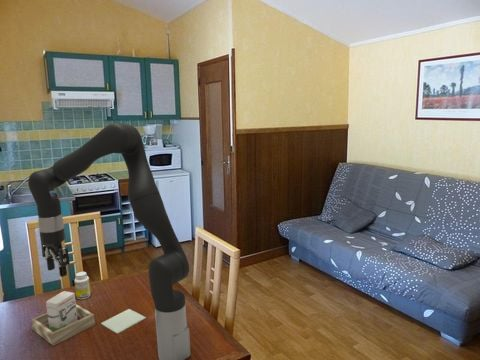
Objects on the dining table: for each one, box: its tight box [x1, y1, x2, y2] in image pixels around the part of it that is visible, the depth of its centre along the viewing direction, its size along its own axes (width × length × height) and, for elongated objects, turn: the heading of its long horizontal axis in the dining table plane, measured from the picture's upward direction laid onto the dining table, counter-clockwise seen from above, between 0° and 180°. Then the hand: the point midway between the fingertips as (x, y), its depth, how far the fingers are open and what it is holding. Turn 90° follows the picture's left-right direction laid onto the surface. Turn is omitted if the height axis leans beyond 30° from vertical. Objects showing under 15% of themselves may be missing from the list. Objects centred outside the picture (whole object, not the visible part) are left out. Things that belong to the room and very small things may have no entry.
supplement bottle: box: [73, 271, 92, 300], centre depth 155 cm, size 6×6×10 cm
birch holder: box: [30, 303, 96, 346], centre depth 134 cm, size 15×15×4 cm
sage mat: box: [100, 308, 146, 335], centre depth 138 cm, size 10×12×1 cm
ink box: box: [45, 290, 79, 332], centre depth 134 cm, size 9×5×12 cm, turn 159°
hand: (57, 272), depth 131 cm, fingers open, 8 cm apart
